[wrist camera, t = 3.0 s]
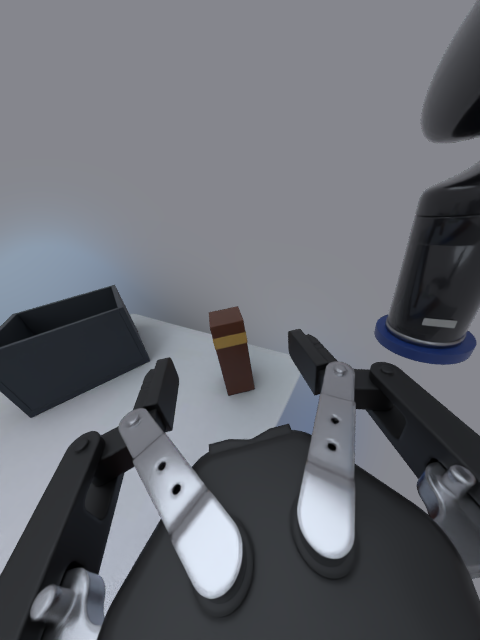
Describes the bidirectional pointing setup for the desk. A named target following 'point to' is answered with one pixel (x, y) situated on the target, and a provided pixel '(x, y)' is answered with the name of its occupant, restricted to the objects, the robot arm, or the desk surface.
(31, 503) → the desk surface
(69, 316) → the waste bin
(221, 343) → the chocolate box
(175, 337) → the desk surface
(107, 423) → the desk surface
